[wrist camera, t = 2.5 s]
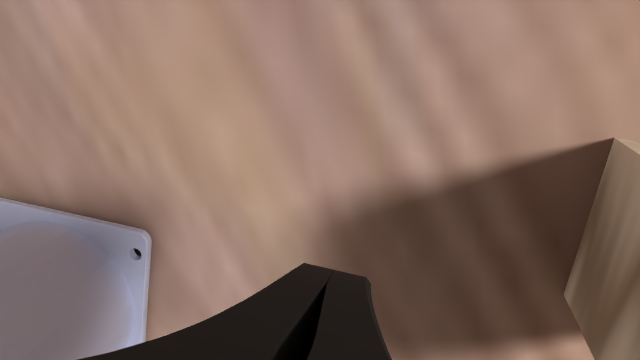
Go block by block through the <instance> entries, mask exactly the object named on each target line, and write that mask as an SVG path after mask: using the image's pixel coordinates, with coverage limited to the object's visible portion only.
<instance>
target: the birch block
mask: <svg viewBox="0 0 640 360" xmlns="http://www.w3.org/2000/svg"><path fill="white" fill-rule="evenodd" d="M563 295H564V297H565V299H566V301H567V303H568V305H569V307H570V309H571V311H572V313H573V315H574V317H575V320H576V322H577V324H578V326H579V328H580V330H581V332H582V334H583V336H584V338H585V340H586V342H587V344H588V346H589V349H590V351H591V353H592V355H593V357H594V359H595V360H640V142H635V141H630V140H624V139H619V138H614V141H613V144H612V147H611V150H610V153H609V156H608V159H607V162H606V165H605V168H604V171H603V174H602V178H601V181H600V184H599V187H598V190H597V193H596V196H595V199H594V202H593V205H592V208H591V211H590V214H589V218H588V221H587V224H586V227H585V230H584V233H583V236H582V239H581V242H580V245H579V248H578V251H577V254H576V258H575V261H574V264H573V267H572V270H571V273H570V276H569V279H568V282H567V285H566V288H565V291H564V294H563Z"/></svg>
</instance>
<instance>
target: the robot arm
mask: <svg viewBox="0 0 640 360" xmlns="http://www.w3.org/2000/svg"><path fill="white" fill-rule="evenodd" d="M151 243H152V242H151V237H150V235H149V234H148V233H147V232H146V231H145V230H143V229H140V228H135V227H131V226H126V225H122V224H117V223H113V222H108V221H104V220H100V219H95V218H91V217H86V216H82V215H77V214H73V213H68V212H64V211H59V210H55V209H50V208H46V207H41V206H37V205H33V204H28V203H24V202H19V201H15V200H10V199H6V198H1V197H0V360H392V359H391V357H390V355H389V352H388V350H387V347H386V345H385V342H384V340H383V337H382V334H381V331H380V328H379V325H378V322H377V319H376V316H375V312H374V308H373V303H372V298H371V284H370V282H369V281H368V279H367V278H366V277H362V276H358V275H353V274H349V273H345V272H340V271H336V270H332V269H327V268H323V267H319V266H314V265H310V264H306V263H303V264H302V265H300V266H299V267H297V268H295V269H294V270H292V271H290V272H289V273H287V274H286V275H284V276H283V277H281V278H280V279H278V280H277V281H275V282H273V283H272V284H270V285H269V286H267V287H266V288H264V289H262V290H261V291H259V292H257V293H256V294H254V295H252V296H251V297H249V298H247V299H246V300H244V301H242V302H240V303H238V304H236V305H234V306H232V307H230V308H229V309H227V310H225V311H223V312H221V313H219V314H217V315H215V316H213V317H211V318H209V319H206V320H204V321H202V322H200V323H197V324H195V325H193V326H190V327H187V328H185V329H182V330H179V331H177V332H174V333H172V334H169V335H166V336H163V337H160V338H157V339H154V340H150V341H147V342H145V338H146V322H147V306H148V290H149V275H150V259H151ZM134 248H136V249H138V250H139V251H140V252H141V256H138V255H137V254H136V253H135V251H134Z"/></svg>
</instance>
